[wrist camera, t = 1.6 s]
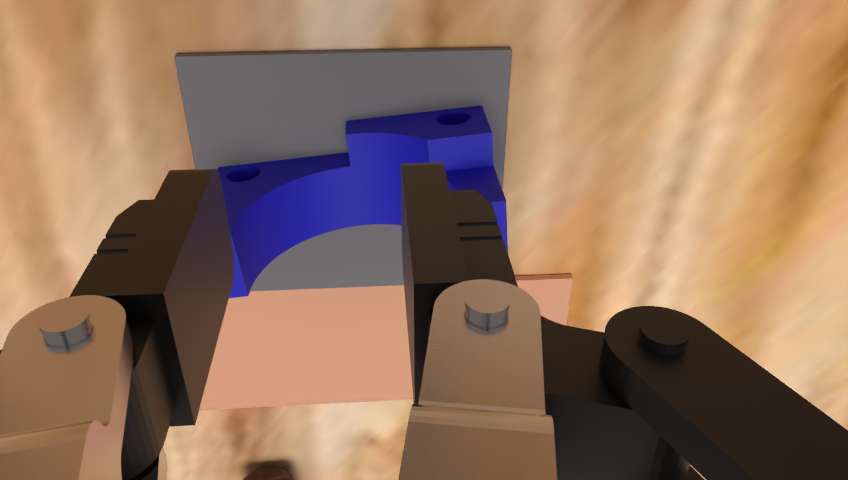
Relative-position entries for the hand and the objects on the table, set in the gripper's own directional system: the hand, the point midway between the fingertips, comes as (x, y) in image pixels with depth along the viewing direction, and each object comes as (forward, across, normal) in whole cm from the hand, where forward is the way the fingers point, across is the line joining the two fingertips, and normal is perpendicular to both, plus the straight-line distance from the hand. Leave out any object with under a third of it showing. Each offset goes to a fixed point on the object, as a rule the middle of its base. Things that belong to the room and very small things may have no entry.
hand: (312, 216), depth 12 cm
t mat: (+19, 0, +13) cm, 23 cm away
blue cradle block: (+19, 0, +8) cm, 21 cm away
